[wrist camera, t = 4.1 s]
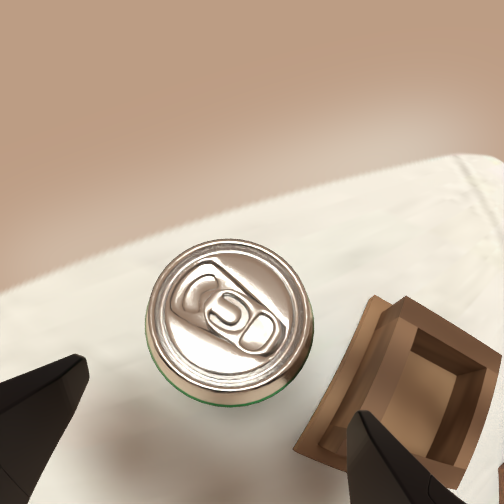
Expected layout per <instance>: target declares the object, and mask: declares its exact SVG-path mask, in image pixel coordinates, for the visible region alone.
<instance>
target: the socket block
mask: <svg viewBox="0 0 504 504" xmlns="http://www.w3.org/2000/svg"><path fill="white" fill-rule="evenodd" d="M501 358H502V355H501V354H499V353H497V352H496V351H494V350H493V349H491V348H490V347H488V346H487V345H485V344H484V343H482V342H481V341H479V340H477V339H476V338H474V337H473V336H471V335H470V334H468V333H466V332H465V331H463V330H462V329H460V328H458V327H457V326H455V325H454V324H452V323H450V322H449V321H447V320H445V319H444V318H442V317H441V316H439V315H437V314H436V313H434V312H432V311H431V310H429V309H427V308H426V307H424V306H422V305H421V304H419V303H417V302H416V301H414V300H412V299H411V298H409V297H407V296H405V297H403V298H402V299H401V300H399V301H398V302H396V303H395V304H393V305H392V304H390V303H388V302H386V301H385V300H383V299H381V298H379V297H378V296H376V295H374V296H372V297H371V298H370V299H369V301H368V303H367V306H366V308H365V310H364V313H363V315H362V318H361V320H360V322H359V324H358V327H357V329H356V331H355V334H354V336H353V338H352V340H351V342H350V345H349V347H348V349H347V351H346V353H345V355H344V357H343V359H342V361H341V363H340V365H339V367H338V369H337V371H336V373H335V375H334V377H333V379H332V381H331V383H330V385H329V387H328V389H327V391H326V393H325V395H324V396H323V398H322V400H321V402H320V404H319V406H318V407H317V409H316V411H315V413H314V414H313V416H312V418H311V420H310V421H309V423H308V425H307V426H306V428H305V430H304V431H303V433H302V435H301V436H300V438H299V440H298V441H297V443H296V444H295V446H294V448H293V450H294V451H295V452H297V453H299V454H302V455H304V456H306V457H309V458H311V459H313V460H316V461H318V462H321V463H323V464H326V465H328V466H331V467H333V468H336V469H339V470H341V471H344V472H347V434H346V431H347V426H348V424H349V422H350V421H351V419H352V417H353V415H354V414H355V412H356V411H357V410H369V411H370V412H371V413H372V414H373V415H374V416H375V417H376V418H377V419H378V420H379V421H380V422H381V423H382V424H383V425H384V426H385V427H386V428H387V429H388V430H389V431H390V432H391V433H392V435H393V436H394V437H395V438H396V439H397V440H398V441H399V442H400V443H401V444H402V445H403V446H404V447H405V448H406V449H407V450H408V451H409V452H410V453H411V454H412V455H413V456H414V457H415V458H416V459H417V460H418V461H419V462H420V463H421V464H422V465H423V466H424V467H425V468H426V469H427V470H428V471H429V472H430V473H431V474H432V475H433V476H434V477H435V478H436V479H437V480H438V481H440V482H441V483H442V484H443V485H444V486H445V487H446V488H450V489H455V490H457V488H458V486H459V484H460V482H461V480H462V478H463V476H464V474H465V471H466V469H467V467H468V465H469V463H470V460H471V458H472V456H473V453H474V451H475V448H476V446H477V443H478V440H479V438H480V435H481V432H482V429H483V426H484V424H485V420H486V417H487V414H488V411H489V408H490V404H491V401H492V397H493V394H494V390H495V386H496V382H497V377H498V373H499V368H500V364H501Z"/></svg>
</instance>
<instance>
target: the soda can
mask: <svg viewBox="0 0 504 504" xmlns="http://www.w3.org/2000/svg"><path fill="white" fill-rule="evenodd" d="M145 335H146V341H147V346H148V349H149V351H150V354H151V357H152V359H153V361H154V363H155V365H156V366H157V368H158V370H159V371H160V372H161V374H162V375H163V376H164V377H165V379H166V380H167V381H168V382H169V383H170V384H171V385H173V386H174V387H175V388H176V389H177V390H178V391H180V392H182V393H183V394H185V395H186V396H188V397H190V398H192V399H194V400H197V401H199V402H201V403H205V404H209V405H213V406H218V407H241V406H248V405H251V404H255V403H259V402H261V401H264V400H266V399H268V398H270V397H272V396H274V395H275V394H277V393H278V392H280V391H281V390H283V389H284V388H285V387H286V386H287V385H288V384H289V383H291V382H292V381H293V380H294V378H295V377H296V376H297V375H298V373H299V372H300V371H301V369H302V368H303V366H304V364H305V362H306V360H307V358H308V356H309V353H310V350H311V346H312V342H313V335H314V317H313V312H312V306H311V303H310V301H309V298H308V295H307V293H306V291H305V288H304V286H303V284H302V282H301V280H300V278H299V276H298V275H297V274H296V272H295V271H294V270H293V268H292V267H291V266H290V265H289V264H288V263H287V262H286V261H285V260H284V259H283V258H282V257H280V256H279V255H278V254H276V253H275V252H273V251H272V250H270V249H268V248H266V247H264V246H262V245H259V244H256V243H253V242H250V241H245V240H240V239H217V240H212V241H207V242H204V243H201V244H198V245H195V246H193V247H191V248H189V249H187V250H186V251H184V252H182V253H181V254H180V255H178V256H177V257H176V258H174V259H173V260H172V261H171V262H170V263H169V264H168V265H167V266H166V267H165V269H164V270H163V272H162V273H161V274H160V276H159V277H158V279H157V281H156V283H155V285H154V287H153V290H152V293H151V296H150V299H149V302H148V306H147V310H146V316H145Z"/></svg>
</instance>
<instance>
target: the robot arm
mask: <svg viewBox="0 0 504 504" xmlns="http://www.w3.org/2000/svg"><path fill="white" fill-rule="evenodd" d="M88 381H89V370H88V365H87V361H86V358H85V357H83V356H81V355H78V354H72V355H70V356H67V357H65V358H62V359H60V360H57V361H55V362H52V363H50V364H47V365H45V366H42V367H40V368H37V369H35V370H32V371H30V372H27V373H24V374H22V375H19V376H17V377H14V378H12V379H9V380H6V381H4V382H1V383H0V504H28V502H29V499H30V497H31V495H32V493H33V491H34V488H35V486H36V484H37V482H38V480H39V478H40V476H41V474H42V472H43V470H44V468H45V466H46V465H47V463H48V461H49V459H50V457H51V455H52V453H53V451H54V449H55V447H56V446H57V444H58V442H59V440H60V438H61V436H62V435H63V433H64V431H65V429H66V428H67V426H68V424H69V422H70V420H71V419H72V417H73V415H74V413H75V411H76V409H77V406H78V404H79V402H80V399H81V397H82V395H83V392H84V390H85V388H86V386H87V383H88ZM346 434H347V476H348V485H349V494H350V503H351V504H466V503H465V502H464V501H462V500H461V499H460V498H458V497H457V496H456V495H454V494H453V493H452V492H451V491H450V490H448V489H447V488H446V487H445V486H444V485H443V484H442V483H441V482H440V481H438V480H437V479H436V478H435V477H434V476H433V475H432V474H431V473H430V472H429V471H428V470H427V469H426V468H425V467H424V466H423V465H422V464H421V463H420V462H419V461H418V460H417V459H416V458H415V457H414V456H413V455H412V454H411V453H410V452H409V451H408V450H407V449H406V448H405V447H404V446H403V445H402V444H401V443H400V442H399V441H398V440H397V439H396V438H395V437H394V436H393V435H392V433H391V432H390V431H389V430H388V429H387V428H386V427H385V426H384V425H383V424H382V423H381V422H380V421H379V420H378V419H377V418H376V417H375V416H374V415H373V414H372V413H371V412H370V411H369V410H357V411H356V412H355V414H354V415H353V417H352V419H351V421H350V422H349V424H348V426H347V431H346Z"/></svg>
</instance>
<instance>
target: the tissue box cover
mask: <svg viewBox="0 0 504 504" xmlns="http://www.w3.org/2000/svg"><path fill="white" fill-rule="evenodd" d="M498 474H499V504H504V463H503V464H502V465H501V466H500V467H499V468H498Z"/></svg>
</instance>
